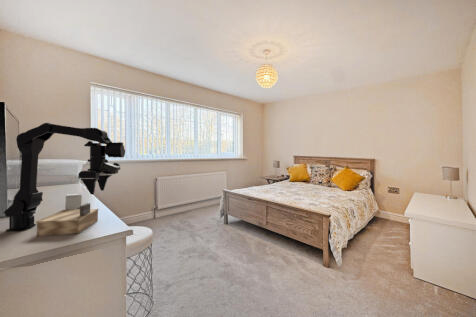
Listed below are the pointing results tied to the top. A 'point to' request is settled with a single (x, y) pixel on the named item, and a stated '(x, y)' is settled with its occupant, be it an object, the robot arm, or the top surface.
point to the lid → (69, 215)
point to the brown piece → (66, 226)
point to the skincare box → (73, 201)
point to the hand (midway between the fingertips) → (97, 192)
